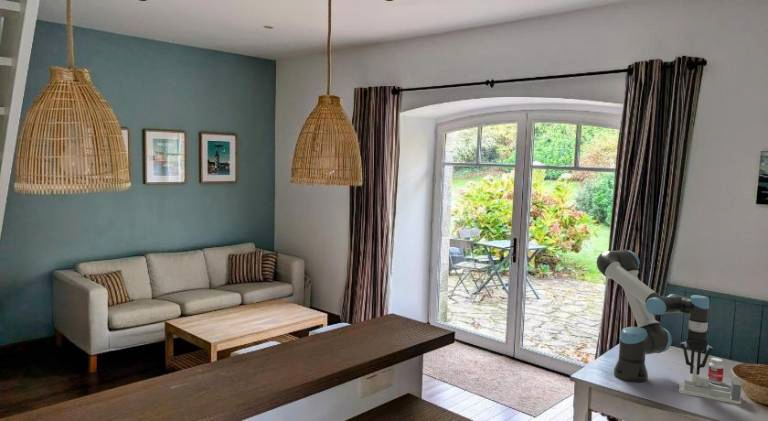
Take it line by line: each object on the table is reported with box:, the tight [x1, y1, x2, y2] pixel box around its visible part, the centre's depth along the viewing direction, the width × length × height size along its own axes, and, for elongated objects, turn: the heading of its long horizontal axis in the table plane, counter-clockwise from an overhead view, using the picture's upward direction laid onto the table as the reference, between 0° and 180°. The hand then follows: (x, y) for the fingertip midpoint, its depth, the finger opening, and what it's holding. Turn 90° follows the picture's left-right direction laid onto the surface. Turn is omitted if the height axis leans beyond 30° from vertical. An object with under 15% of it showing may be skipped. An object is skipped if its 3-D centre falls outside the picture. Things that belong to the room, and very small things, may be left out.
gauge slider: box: [695, 374, 714, 388], centre depth 257 cm, size 7×7×6 cm
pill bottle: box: [707, 357, 725, 385], centre depth 273 cm, size 6×6×11 cm
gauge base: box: [678, 377, 742, 405], centre depth 257 cm, size 24×10×8 cm, turn 62°
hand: (694, 380), depth 260 cm, fingers closed
